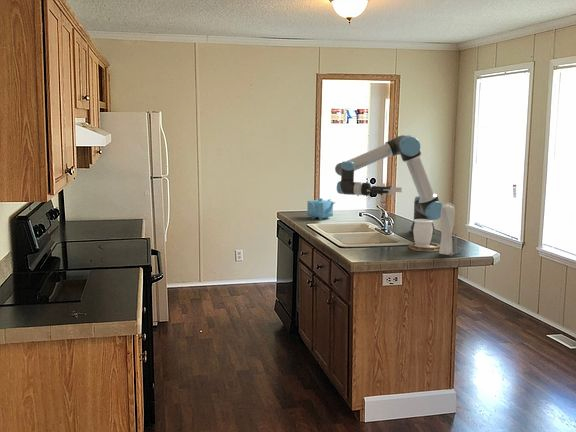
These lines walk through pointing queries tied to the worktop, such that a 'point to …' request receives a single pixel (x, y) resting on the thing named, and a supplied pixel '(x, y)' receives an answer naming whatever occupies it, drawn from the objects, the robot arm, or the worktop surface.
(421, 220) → the jar
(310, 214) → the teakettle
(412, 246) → the coaster
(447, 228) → the skyscraper
